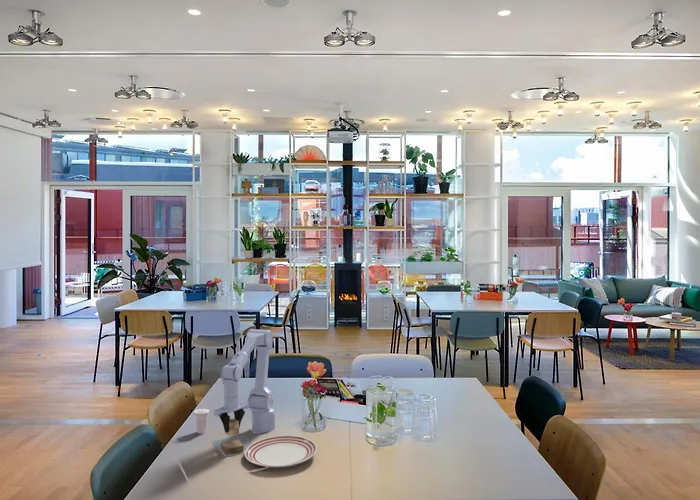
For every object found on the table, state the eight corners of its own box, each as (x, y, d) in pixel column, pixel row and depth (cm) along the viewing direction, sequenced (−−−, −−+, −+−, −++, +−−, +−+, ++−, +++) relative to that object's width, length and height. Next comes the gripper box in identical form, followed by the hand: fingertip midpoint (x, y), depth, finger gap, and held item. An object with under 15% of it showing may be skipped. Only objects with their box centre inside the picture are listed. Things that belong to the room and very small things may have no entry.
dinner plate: (257, 480, 184) (257, 470, 184) (236, 450, 208) (236, 442, 208) (329, 464, 197) (329, 455, 197) (301, 438, 221) (300, 430, 221)
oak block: (233, 430, 210) (233, 418, 210) (238, 433, 207) (238, 420, 207) (224, 433, 208) (224, 420, 207) (229, 436, 205) (229, 423, 204)
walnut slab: (238, 445, 212) (238, 439, 212) (243, 451, 206) (243, 445, 206) (221, 449, 209) (220, 442, 209) (225, 455, 203) (225, 449, 203)
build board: (244, 436, 223) (244, 434, 223) (258, 451, 208) (258, 450, 208) (211, 442, 217) (211, 441, 217) (223, 459, 201) (223, 457, 201)
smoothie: (205, 436, 223) (205, 403, 222) (191, 435, 224) (191, 402, 224) (212, 431, 229) (211, 399, 229) (198, 430, 231) (198, 398, 230)
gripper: (242, 389, 215) (243, 422, 215) (209, 397, 205) (210, 431, 206) (251, 393, 209) (252, 427, 210) (218, 401, 200) (218, 437, 200)
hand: (232, 430), depth 207 cm, fingers closed on oak block, 4 cm apart
